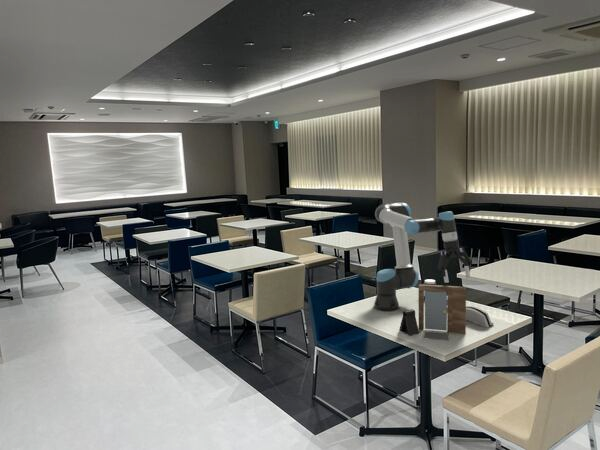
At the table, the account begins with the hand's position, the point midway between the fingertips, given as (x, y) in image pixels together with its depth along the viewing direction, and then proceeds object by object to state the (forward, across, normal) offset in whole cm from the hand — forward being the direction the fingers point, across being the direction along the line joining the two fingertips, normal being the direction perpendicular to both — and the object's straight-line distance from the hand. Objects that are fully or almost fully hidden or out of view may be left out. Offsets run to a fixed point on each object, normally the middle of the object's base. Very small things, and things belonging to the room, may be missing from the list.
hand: (457, 280), depth 236 cm
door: (+24, -14, +6) cm, 29 cm away
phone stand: (+23, -28, +10) cm, 38 cm away
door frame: (+25, -12, +5) cm, 28 cm away
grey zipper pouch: (+26, +14, +9) cm, 31 cm away
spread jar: (+16, +17, +56) cm, 61 cm away
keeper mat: (+26, -18, 0) cm, 31 cm away
